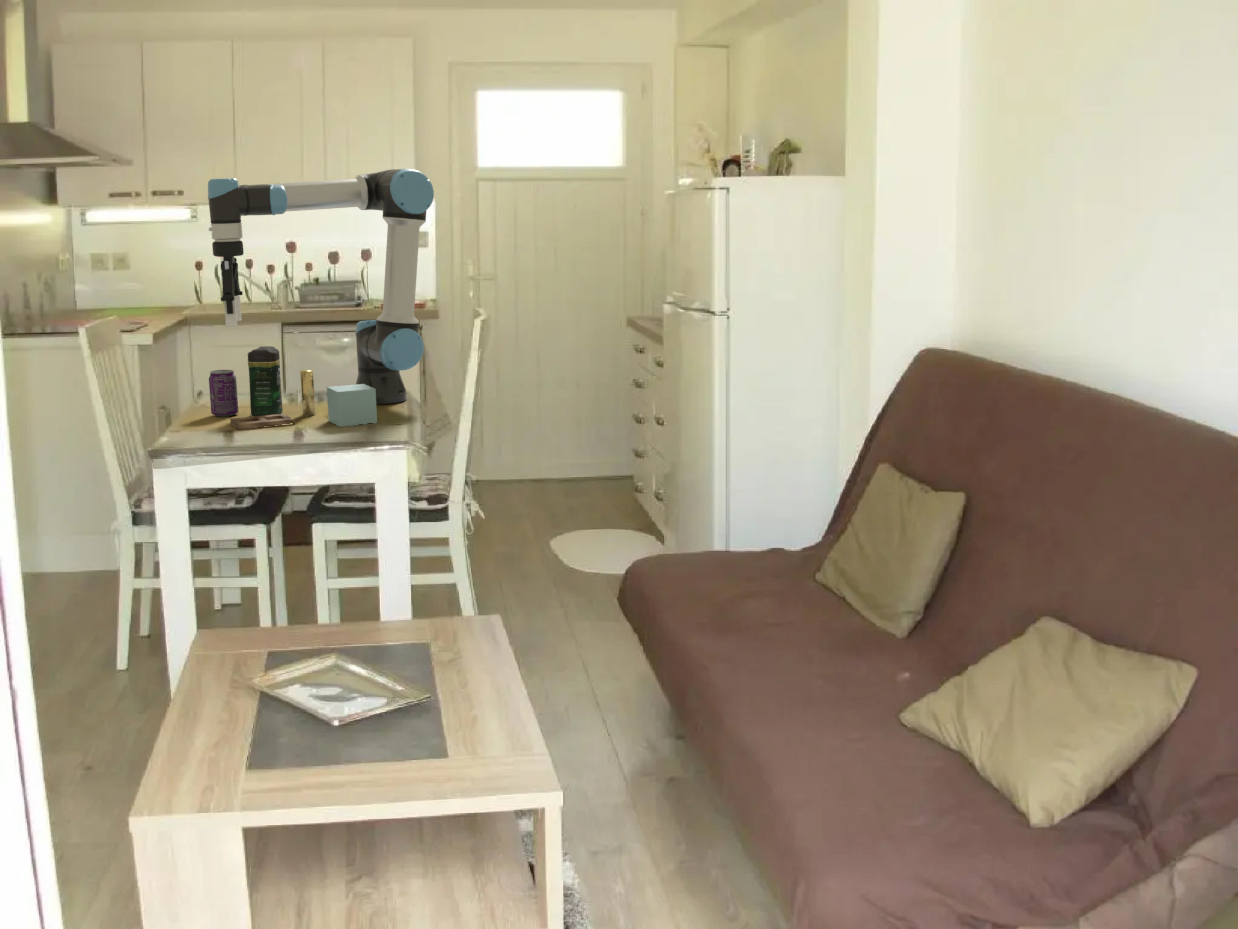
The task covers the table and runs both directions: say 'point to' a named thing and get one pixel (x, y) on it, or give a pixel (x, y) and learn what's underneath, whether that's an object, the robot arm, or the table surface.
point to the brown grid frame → (260, 421)
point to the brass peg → (307, 392)
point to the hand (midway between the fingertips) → (234, 323)
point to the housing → (351, 405)
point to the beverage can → (223, 393)
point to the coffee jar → (265, 381)
